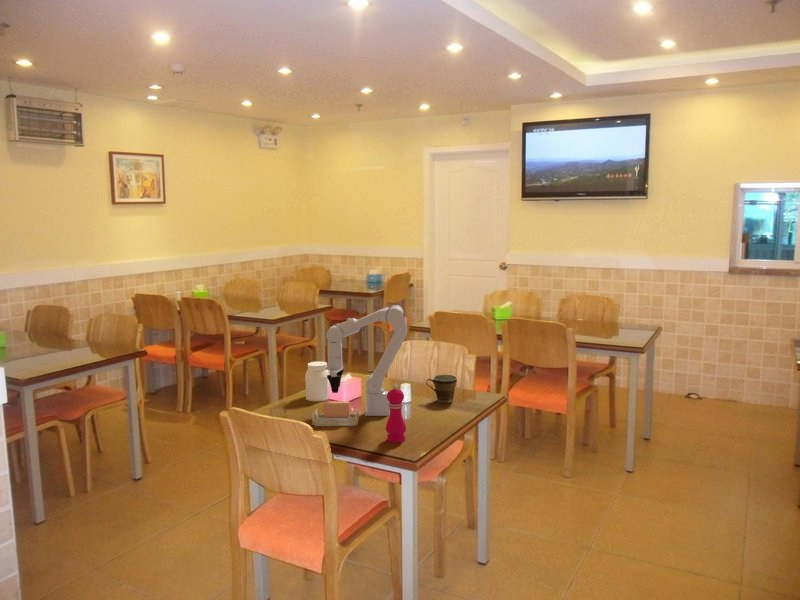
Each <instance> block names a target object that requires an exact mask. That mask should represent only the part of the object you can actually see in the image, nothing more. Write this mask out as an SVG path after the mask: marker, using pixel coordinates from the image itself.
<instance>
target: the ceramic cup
mask: <svg viewBox="0 0 800 600" xmlns="http://www.w3.org/2000/svg"><path fill="white" fill-rule="evenodd" d="M429 381H431V382H432V383H433V385H434V388H433V386H431V385H430V384H428V382H429ZM425 382H426V385H427V386H428V387H429V388H430V389H432V390H433V391H434V393H435V394H436V400H437V402H438V403H441V404H449V403H453V402H454V397H455V390H456V387H457V382H458V377H457V376H456V375H453V374H452V375H451V374H437V375H434V376H433V378H428V379H426V381H425Z"/></svg>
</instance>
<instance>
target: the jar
mask: <svg viewBox="0 0 800 600" xmlns="http://www.w3.org/2000/svg"><path fill="white" fill-rule="evenodd" d="M325 367H328V362H326V361H319V360H318V361H311V362H308V363H307V370H306V372H305V376H304V378H305V379H304V380H305V400H306V401H310V402H326V401H328V400H329V397H330V396H328V387H329V383H330V382H329V381H328V378H327V375H331V373H330V371H329V370H325Z"/></svg>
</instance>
